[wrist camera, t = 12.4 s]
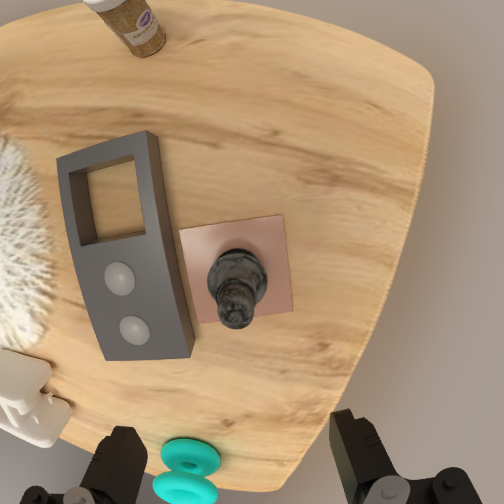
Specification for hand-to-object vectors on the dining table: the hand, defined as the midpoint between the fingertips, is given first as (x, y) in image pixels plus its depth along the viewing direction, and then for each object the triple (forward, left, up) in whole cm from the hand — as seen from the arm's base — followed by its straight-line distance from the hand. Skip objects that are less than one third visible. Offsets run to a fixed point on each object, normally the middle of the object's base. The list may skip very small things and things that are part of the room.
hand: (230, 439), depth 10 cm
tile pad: (0, 0, -23) cm, 23 cm away
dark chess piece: (0, 0, -23) cm, 23 cm away
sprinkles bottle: (-29, -7, -23) cm, 38 cm away
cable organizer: (+15, -38, -23) cm, 47 cm away
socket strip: (-4, -12, -23) cm, 26 cm away
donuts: (+31, -13, -23) cm, 41 cm away
